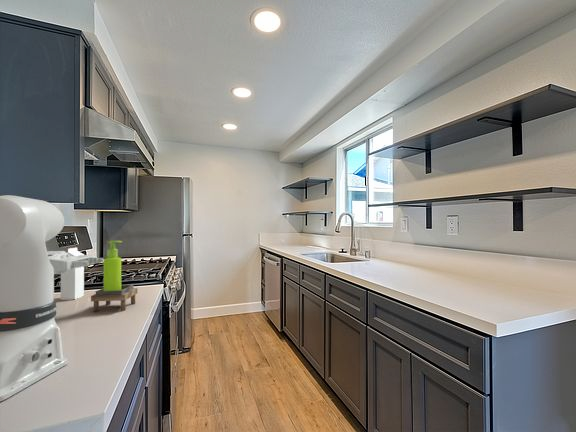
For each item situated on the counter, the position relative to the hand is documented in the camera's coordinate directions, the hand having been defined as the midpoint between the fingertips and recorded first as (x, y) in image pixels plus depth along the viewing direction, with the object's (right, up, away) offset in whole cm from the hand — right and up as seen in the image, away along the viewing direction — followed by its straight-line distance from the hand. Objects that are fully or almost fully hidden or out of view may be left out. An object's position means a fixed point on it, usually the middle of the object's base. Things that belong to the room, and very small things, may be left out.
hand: (95, 262), depth 113 cm
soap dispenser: (+8, -12, -2) cm, 14 cm away
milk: (-20, -18, +14) cm, 31 cm away
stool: (+8, -18, 0) cm, 19 cm away
